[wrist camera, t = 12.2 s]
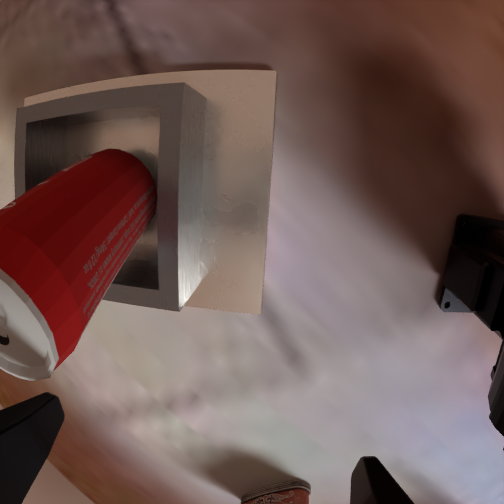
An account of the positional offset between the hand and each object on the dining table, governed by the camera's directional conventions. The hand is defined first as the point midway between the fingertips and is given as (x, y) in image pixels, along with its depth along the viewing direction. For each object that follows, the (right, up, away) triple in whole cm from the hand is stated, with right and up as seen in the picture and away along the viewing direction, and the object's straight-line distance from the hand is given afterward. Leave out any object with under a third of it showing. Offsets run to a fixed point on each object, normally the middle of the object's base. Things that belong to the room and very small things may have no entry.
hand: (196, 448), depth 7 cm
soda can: (-6, +9, +10) cm, 15 cm away
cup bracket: (-6, +9, +12) cm, 16 cm away
